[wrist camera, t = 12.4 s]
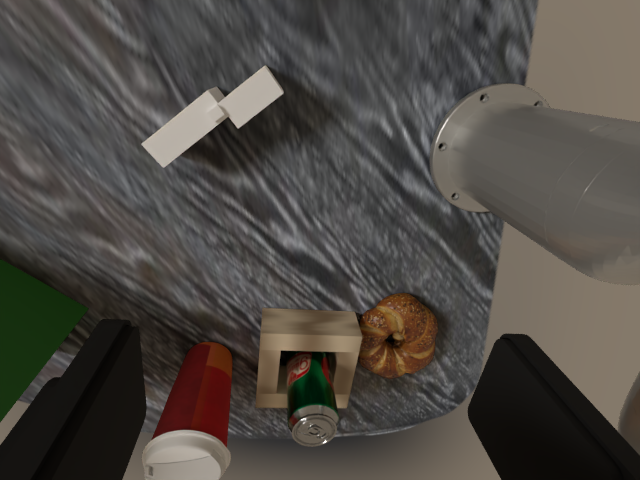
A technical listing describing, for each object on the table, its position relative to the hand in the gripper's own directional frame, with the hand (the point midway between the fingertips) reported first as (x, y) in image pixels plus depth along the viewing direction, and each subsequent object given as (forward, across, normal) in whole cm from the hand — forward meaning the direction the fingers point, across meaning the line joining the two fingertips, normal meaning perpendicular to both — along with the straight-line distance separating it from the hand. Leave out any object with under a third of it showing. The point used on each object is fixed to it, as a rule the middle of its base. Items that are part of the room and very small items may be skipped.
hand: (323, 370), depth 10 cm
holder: (+28, -4, +24) cm, 37 cm away
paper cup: (+28, +7, +26) cm, 40 cm away
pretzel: (+29, -15, +21) cm, 39 cm away
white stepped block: (+29, +6, -2) cm, 30 cm away
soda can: (+28, -4, +24) cm, 37 cm away
